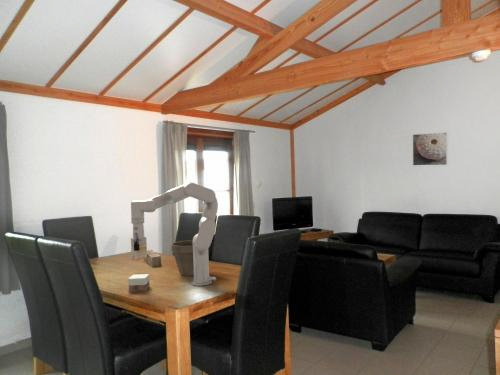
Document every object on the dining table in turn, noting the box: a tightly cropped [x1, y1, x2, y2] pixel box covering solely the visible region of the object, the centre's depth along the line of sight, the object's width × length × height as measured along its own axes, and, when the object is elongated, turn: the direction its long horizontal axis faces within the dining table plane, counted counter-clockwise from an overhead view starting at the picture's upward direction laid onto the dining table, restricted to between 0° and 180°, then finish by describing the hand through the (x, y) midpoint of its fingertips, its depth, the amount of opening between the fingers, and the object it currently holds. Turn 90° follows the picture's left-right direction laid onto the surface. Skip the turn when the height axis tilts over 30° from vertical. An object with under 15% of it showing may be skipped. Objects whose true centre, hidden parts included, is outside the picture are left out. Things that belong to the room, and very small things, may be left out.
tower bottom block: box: [128, 281, 150, 292], centre depth 241 cm, size 10×10×4 cm
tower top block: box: [127, 273, 150, 286], centre depth 241 cm, size 10×10×4 cm
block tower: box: [143, 249, 162, 268], centre depth 317 cm, size 8×8×29 cm
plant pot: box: [170, 239, 194, 277], centre depth 278 cm, size 25×25×22 cm
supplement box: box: [130, 236, 148, 261], centre depth 241 cm, size 8×5×13 cm, turn 140°
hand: (138, 249), depth 241 cm, fingers closed on supplement box, 9 cm apart
